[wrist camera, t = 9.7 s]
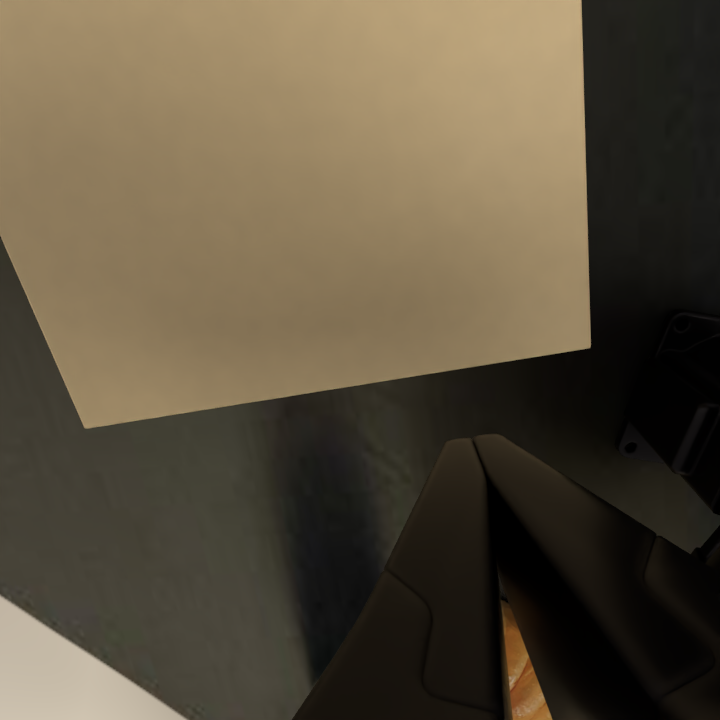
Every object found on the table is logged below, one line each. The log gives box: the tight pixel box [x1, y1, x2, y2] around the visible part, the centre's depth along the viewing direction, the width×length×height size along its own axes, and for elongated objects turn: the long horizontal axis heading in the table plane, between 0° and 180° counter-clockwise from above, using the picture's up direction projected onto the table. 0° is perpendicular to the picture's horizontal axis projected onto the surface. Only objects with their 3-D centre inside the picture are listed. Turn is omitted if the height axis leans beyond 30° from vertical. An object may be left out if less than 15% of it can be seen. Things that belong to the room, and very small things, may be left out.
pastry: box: [501, 600, 552, 720], centre depth 26 cm, size 9×7×4 cm
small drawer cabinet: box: [0, 0, 591, 429], centre depth 14 cm, size 14×12×9 cm
